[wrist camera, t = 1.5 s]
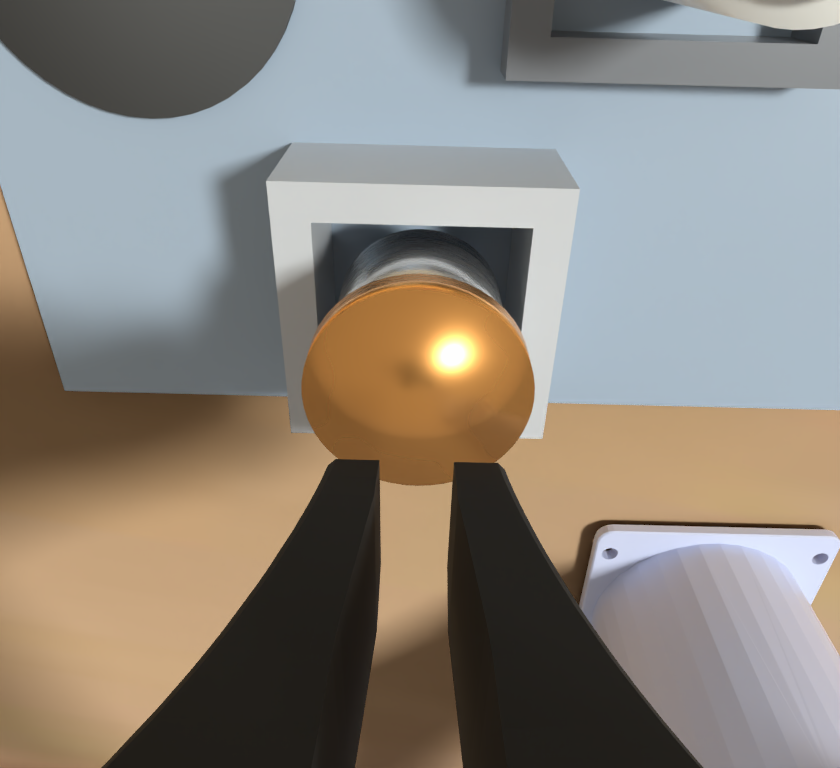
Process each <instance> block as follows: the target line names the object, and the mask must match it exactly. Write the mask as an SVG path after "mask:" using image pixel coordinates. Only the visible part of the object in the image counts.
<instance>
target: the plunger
mask: <svg viewBox="0 0 840 768" xmlns="http://www.w3.org/2000/svg"><path fill="white" fill-rule="evenodd" d="M301 395H302V401H303V407H304V410H305V413H306V416H307V419H308V421H309V423H310V425H311V427H312V429H313V431H314V432H315V434H316V435H317V437H318V438H319V440H320V441H321V442H322V443H323V445H324V446H325V447H326V448H327V449H328V450H329V451H330V452H331V453H332V454H333V455H335V456H336V457H337V458H338V459H353V460H379V468H380V480H382V481H386V482H390V483H396V484H402V485H415V486H418V485H435V484H443V483H448V482H452V481H453V470H454V462H476V463H494V462H496V461H497V460H498V459H499V458H501V457H502V456H503V455H504V454H505V453H506V452H507V451H508V450H509V449H510V448H511V447H512V446H513V445H514V444H515V442H516V441H517V440H518V439H519V437H520V436H521V434H522V432H523V431H524V429H525V427H526V425H527V423H528V421H529V418H530V415H531V413H532V408H533V404H534V395H535V383H534V374H533V370H532V366H531V362H530V357H529V353H528V350H527V346H526V342H525V340H524V338H523V335H522V333H521V331H520V329H519V327H518V326H517V324H516V322H515V321H514V319H513V318H512V317H511V316H510V314H509V313H508V312H507V311H506V310H505V309H504V308H503V307H502V302H501V297H500V292H499V288H498V284H497V280H496V278H495V275H494V273H493V271H492V269H491V268H490V266H489V264H488V263H487V261H486V260H485V259H484V258H483V256H482V255H481V254H480V253H479V252H478V251H477V250H476V249H474V248H473V247H472V246H471V245H469V244H468V243H466V242H465V241H463V240H461V239H459V238H457V237H455V236H453V235H450V234H447V233H445V232H440V231H436V230H428V229H410V230H404V231H399V232H396V233H392V234H389V235H387V236H385V237H382V238H380V239H378V240H377V241H375V242H373V243H372V244H370V245H369V246H368V247H367V248H365V249H364V250H363V251H362V252H361V253H360V254H359V255H358V256H357V257H356V258H355V260H354V261H353V263H352V264H351V266H350V267H349V269H348V271H347V273H346V275H345V278H344V281H343V284H342V288H341V292H340V296H339V300H338V303H337V304H336V305H335V306H334V307H333V308H332V309H331V310H330V311H329V312H328V313H327V314H326V316H325V317H324V319H323V320H322V321H321V323H320V324H319V326H318V328H317V330H316V332H315V334H314V336H313V339H312V342H311V345H310V348H309V351H308V355H307V358H306V362H305V365H304V368H303V374H302V381H301Z"/></svg>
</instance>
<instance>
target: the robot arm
mask: <svg viewBox="0 0 840 768" xmlns="http://www.w3.org/2000/svg"><path fill="white" fill-rule="evenodd" d="M609 548H612V549H611V550H606V549H609ZM839 548H840V540H839V539H838V537H837V536H836V534H835V533H834V532H832V531H831V530H824V529H783V528H741V527H700V526H659V525H618V524H611V525H606V526H603V527H601V528H600V529H599V530H597V532H596V534H595V537H594V542H593V546H592V550H591V555H590V559H589V564H588V568H587V573H586V577H585V581H584V586H583V590H582V595H581V599H580V604H579V605H578V604H577V602H576V601H575V599H574V598H573V596H572V594H571V593H570V591H569V590H568V588H567V586H566V585H565V583H564V582H563V580H562V578H561V577H560V575H559V573H558V572H557V570H556V568H555V567H554V565H553V563H552V562H551V560H550V559H549V557H548V555H547V554H546V552H545V550H544V548H543V547H542V545H541V543H540V541H539V540H538V538H537V536H536V534H535V532H534V530H533V528H532V527H531V525H530V523H529V521H528V519H527V517H526V515H525V513H524V511H523V509H522V507H521V505H520V503H519V501H518V499H517V497H516V495H515V493H514V491H513V488H512V486H511V484H510V482H509V479H508V477H507V474H506V472H505V470H504V469H503V468H502V467H501V466H500V465H499V464H498V463H476V462H454V470H453V485H452V501H451V517H450V532H449V548H448V564H447V572H448V635H449V645H450V654H451V663H452V672H453V681H454V690H455V699H456V708H457V717H458V726H459V734H460V743H461V752H462V761H463V768H840V656H839V654H838V652H837V651H836V649H835V647H834V645H833V644H832V642H831V640H830V638H829V637H828V635H827V633H826V631H825V630H824V628H823V626H822V625H821V623H820V621H819V619H818V618H817V616H816V614H815V612H814V611H813V609H812V607H811V604H812V602H813V600H814V598H815V596H816V594H817V592H818V590H819V588H820V586H821V584H822V582H823V580H824V578H825V576H826V574H827V572H828V570H829V568H830V566H831V564H832V562H833V560H834V558H835V556H836V554H837V552H838V550H839ZM605 550H606V551H605ZM380 567H381V547H380V468H379V460H353V459H335V460H334V461H333V462H332V463H330V464H329V465H328V467H327V469H326V471H325V473H324V476H323V478H322V480H321V482H320V484H319V486H318V488H317V490H316V491H315V493H314V495H313V497H312V499H311V501H310V502H309V504H308V506H307V508H306V509H305V511H304V513H303V515H302V516H301V518H300V520H299V521H298V523H297V525H296V526H295V528H294V530H293V531H292V533H291V534H290V536H289V537H288V539H287V541H286V542H285V544H284V545H283V547H282V548H281V550H280V551H279V553H278V554H277V556H276V557H275V559H274V560H273V562H272V564H271V565H270V567H269V568H268V570H267V571H266V573H265V574H264V575H263V577H262V578H261V580H260V581H259V583H258V584H257V585H256V587H255V588H254V589H253V591H252V592H251V594H250V595H249V596H248V598H247V599H246V600H245V602H244V603H243V604H242V606H241V607H240V608H239V610H238V611H237V612H236V614H235V615H234V616H233V618H232V619H231V621H230V622H229V623H228V625H227V626H226V627H225V629H224V630H223V631H222V632H221V634H220V635H219V636H218V638H217V639H216V640H215V641H214V643H213V644H212V645H211V646H210V648H209V649H208V650H207V651H206V653H205V654H204V655H203V656H202V657H201V659H200V660H199V661H198V662H197V663H196V665H195V666H194V667H193V668H192V669H191V671H190V672H189V673H188V674H187V675H186V676H185V678H184V679H183V680H182V681H181V682H180V683H179V685H178V686H177V687H176V688H175V689H174V690H173V691H172V693H171V694H170V695H169V696H168V697H167V698H166V700H165V701H164V702H163V703H162V704H161V705H160V706H159V707H158V708H157V710H156V711H155V712H154V713H153V714H152V715H151V716H150V717H149V718H148V719H147V720H146V721H145V722H144V723H143V724H142V726H141V727H140V728H139V729H138V730H137V731H136V732H135V733H134V734H133V735H132V736H131V737H130V738H129V739H128V740H127V742H126V743H125V744H124V745H123V746H122V747H121V748H120V749H119V750H118V751H117V752H116V753H115V754H114V755H113V756H112V758H111V759H110V760H109V761H108V762H107V763H106V764H105V765H104V766H103V767H102V768H355V763H356V757H357V751H358V745H359V738H360V732H361V726H362V720H363V714H364V707H365V701H366V695H367V689H368V682H369V676H370V670H371V664H372V657H373V651H374V645H375V638H376V632H377V617H378V601H379V584H380Z"/></svg>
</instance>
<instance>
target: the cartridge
mask: <svg viewBox="0 0 840 768" xmlns="http://www.w3.org/2000/svg"><path fill="white" fill-rule="evenodd" d="M664 1H668V2H672V3H676V4H680V5H684V6H688V7H692V8H696V9H700V10H704V11H708V12H712V13H716V14H720V15H724V16H728V17H732V18H736V19H740V20H744V21H748V22H752V23H757V24H761V25H765V26H769V27H773V28H779V29H789V30H805V29H817V28H822V27H828V26H833V25H836V24H839V23H840V0H664Z"/></svg>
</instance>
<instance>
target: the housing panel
mask: <svg viewBox="0 0 840 768" xmlns="http://www.w3.org/2000/svg"><path fill="white" fill-rule="evenodd" d="M0 185H1V189H2V192H3V195H4V198H5V201H6V205H7V208H8V211H9V214H10V217H11V221H12V224H13V227H14V230H15V233H16V237H17V240H18V243H19V246H20V249H21V253H22V256H23V259H24V262H25V265H26V269H27V272H28V275H29V278H30V281H31V284H32V288H33V291H34V294H35V297H36V300H37V304H38V307H39V310H40V313H41V316H42V320H43V323H44V326H45V329H46V332H47V336H48V339H49V342H50V345H51V348H52V352H53V355H54V358H55V361H56V364H57V368H58V371H59V374H60V377H61V380H62V384H63V387H64V390H65V391H92V392H132V393H172V394H213V395H253V396H288V406H289V416H290V426H291V433H315V432H314V431H313V429H312V427H311V425H310V423H309V421H308V419H307V416H306V413H305V410H304V407H303V401H302V395H301V381H302V374H303V368H304V365H305V362H306V358H307V355H308V351H309V348H310V345H311V342H312V339H313V336H314V334H315V332H316V330H317V328H318V326H319V324H320V323H321V321H322V320H323V319H324V317H325V316H326V314H327V313H328V312H329V311H330V310H331V309H332V308H333V307H334V306H335V305H336V304H337V303H338V300H339V296H340V292H341V288H342V284H343V281H344V278H345V275H346V273H347V271H348V269H349V267H350V266H351V264H352V263H353V261H354V260H355V258H356V257H357V256H358V255H359V254H360V253H361V252H362V251H363V250H364V249H365V248H367V247H368V246H369V245H370V244H372V243H373V242H375V241H377V240H378V239H380V238H382V237H385V236H387V235H389V234H392V233H396V232H399V231H404V230H410V229H428V230H436V231H440V232H445V233H447V234H450V235H453V236H455V237H457V238H459V239H461V240H463V241H465V242H466V243H468V244H469V245H471V246H472V247H473V248H474V249H476V250H477V251H478V252H479V253H480V254H481V255H482V256H483V258H484V259H485V260H486V261H487V263H488V264H489V266H490V268H491V269H492V271H493V273H494V275H495V278H496V280H497V284H498V288H499V292H500V297H501V302H502V307H503V308H504V309H505V310H506V311H507V312H508V313H509V314H510V316H511V317H512V318H513V319H514V321H515V322H516V324H517V326H518V327H519V329H520V331H521V333H522V335H523V338H524V340H525V342H526V346H527V350H528V353H529V357H530V362H531V366H532V370H533V374H534V383H535V395H534V404H533V408H532V413H531V415H530V418H529V421H528V423H527V425H526V427H525V429H524V431H523V432H522V434H521V436H520V437H519V438H530V439H542V438H543V431H544V425H545V418H546V412H547V405H548V403H576V404H616V405H656V406H697V407H737V408H777V409H818V410H840V23H839V24H836V25H833V26H828V27H822V28H817V29H805V30H789V29H779V28H773V27H769V26H765V25H761V24H757V23H752V22H748V21H744V20H740V19H736V18H732V17H728V16H724V15H720V14H716V13H712V12H708V11H704V10H700V9H696V8H692V7H688V6H684V5H680V4H676V3H672V2H668V1H664V0H296V1H295V5H294V10H293V12H292V15H291V18H290V21H289V23H288V26H287V29H286V31H285V33H284V35H283V37H282V39H281V41H280V43H279V45H278V47H277V48H276V50H275V52H274V53H273V55H272V56H271V58H270V59H269V60H268V62H267V63H266V64H265V66H264V67H263V69H262V70H261V71H260V72H259V73H258V74H257V75H256V76H255V77H254V78H253V79H252V80H251V81H250V82H249V83H248V84H247V85H245V86H244V87H243V88H241V89H240V90H239V91H237V92H236V93H235V94H233V95H232V96H231V97H229V98H228V99H226V100H224V101H222V102H220V103H218V104H216V105H215V106H213V107H211V108H208V109H205V110H202V111H199V112H197V113H194V114H190V115H184V116H179V117H174V118H155V119H150V118H140V117H130V116H126V115H121V114H117V113H112V112H108V111H106V110H103V109H100V108H97V107H94V106H92V105H89V104H87V103H84V102H82V101H80V100H78V99H76V98H74V97H72V96H70V95H68V94H66V93H65V92H63V91H61V90H60V89H58V88H57V87H55V86H54V85H52V84H50V83H49V82H47V81H46V80H44V79H43V78H42V77H41V76H39V75H38V74H37V73H35V72H34V71H33V70H32V69H30V68H29V67H28V66H27V65H25V64H24V63H23V62H22V61H21V60H20V59H19V58H18V57H17V56H16V55H15V54H14V53H13V52H12V51H11V50H10V49H9V48H7V47H6V45H5V44H4V43H3V42H2V41H1V40H0Z"/></svg>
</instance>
